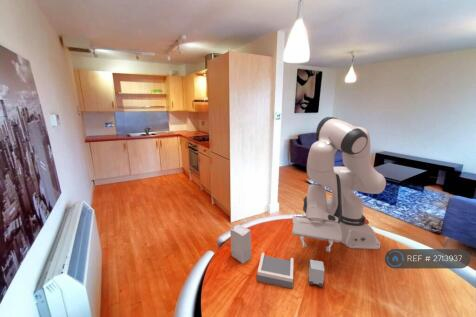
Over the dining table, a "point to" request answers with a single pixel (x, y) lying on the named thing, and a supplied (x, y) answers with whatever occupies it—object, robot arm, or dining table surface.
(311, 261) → the white footed cube
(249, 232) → the skincare box
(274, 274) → the dock
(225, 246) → the dining table surface
